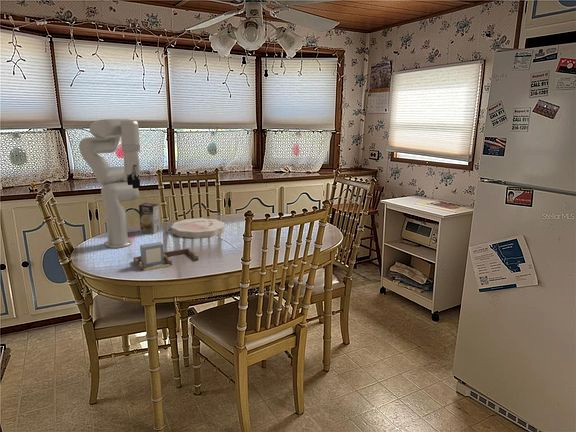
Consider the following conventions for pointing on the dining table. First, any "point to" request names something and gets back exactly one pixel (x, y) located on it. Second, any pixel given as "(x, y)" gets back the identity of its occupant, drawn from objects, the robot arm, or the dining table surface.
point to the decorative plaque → (198, 228)
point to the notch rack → (166, 258)
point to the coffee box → (149, 218)
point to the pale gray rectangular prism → (152, 254)
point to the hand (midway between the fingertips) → (133, 186)
